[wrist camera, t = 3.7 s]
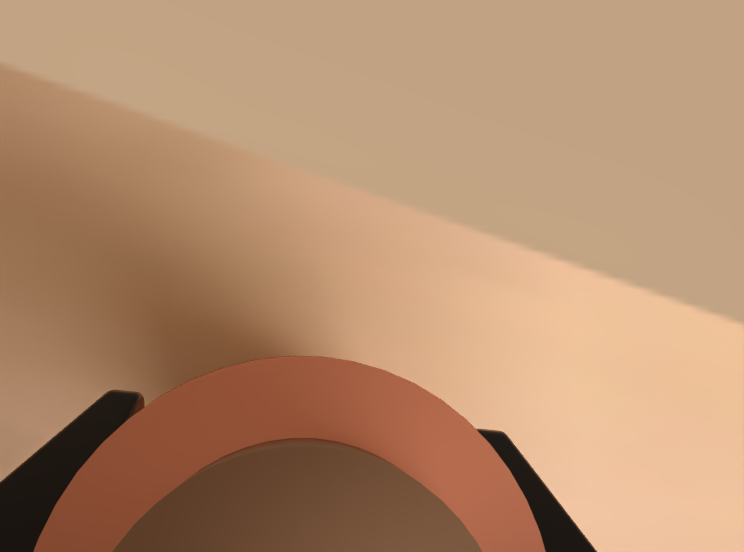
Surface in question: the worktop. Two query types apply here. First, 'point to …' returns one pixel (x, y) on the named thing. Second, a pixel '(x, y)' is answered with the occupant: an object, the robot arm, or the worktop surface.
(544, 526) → the robot arm
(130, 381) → the worktop surface
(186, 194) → the worktop surface
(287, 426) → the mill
